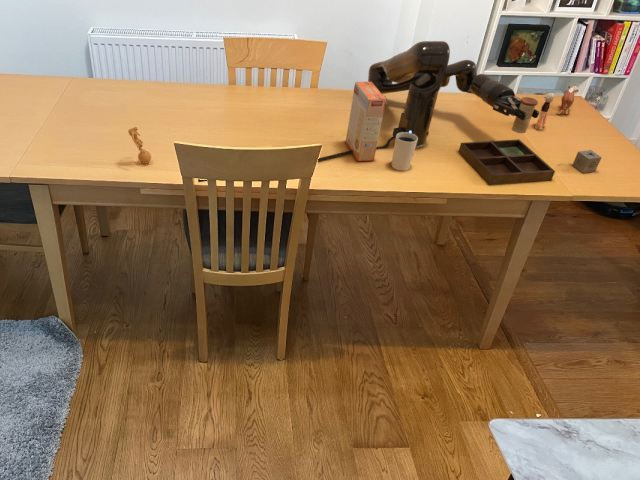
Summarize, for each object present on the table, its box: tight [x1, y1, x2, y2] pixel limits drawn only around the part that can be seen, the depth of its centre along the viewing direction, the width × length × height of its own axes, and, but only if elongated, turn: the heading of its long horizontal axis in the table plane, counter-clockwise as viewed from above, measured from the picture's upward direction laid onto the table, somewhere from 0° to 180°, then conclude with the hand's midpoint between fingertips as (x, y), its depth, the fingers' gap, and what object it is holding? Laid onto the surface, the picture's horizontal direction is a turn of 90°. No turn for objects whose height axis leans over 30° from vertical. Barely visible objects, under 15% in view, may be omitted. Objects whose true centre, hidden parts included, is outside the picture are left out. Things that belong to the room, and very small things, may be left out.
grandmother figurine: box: [534, 92, 555, 131], centre depth 209 cm, size 8×4×13 cm, turn 168°
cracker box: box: [345, 80, 387, 162], centre depth 186 cm, size 14×6×21 cm, turn 9°
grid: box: [458, 138, 556, 186], centre depth 188 cm, size 21×21×3 cm
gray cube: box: [571, 149, 602, 174], centre depth 189 cm, size 5×5×5 cm
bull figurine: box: [557, 85, 579, 115], centre depth 222 cm, size 4×13×8 cm, turn 148°
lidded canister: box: [511, 96, 539, 134], centre depth 185 cm, size 5×5×10 cm
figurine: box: [128, 126, 152, 164], centre depth 178 cm, size 8×6×12 cm
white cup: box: [391, 132, 418, 171], centre depth 183 cm, size 7×7×10 cm
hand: (531, 116), depth 182 cm, fingers closed on lidded canister, 4 cm apart
